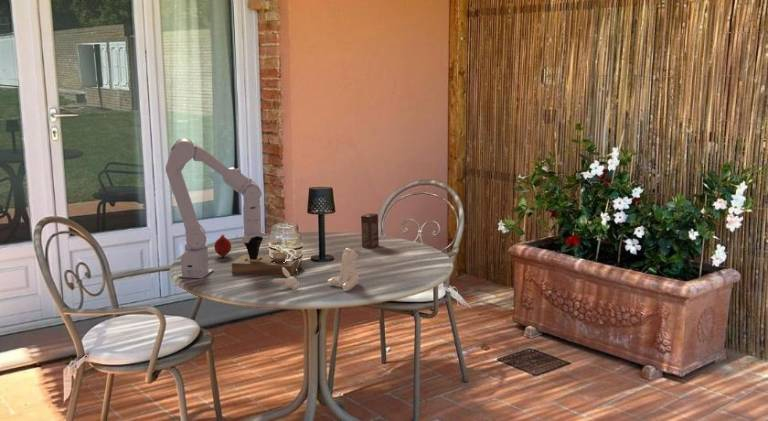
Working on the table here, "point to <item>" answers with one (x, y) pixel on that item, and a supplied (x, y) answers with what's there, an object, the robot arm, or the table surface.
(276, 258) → the peg
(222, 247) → the onion
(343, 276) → the white creature statuette
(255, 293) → the table surface
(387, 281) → the table surface
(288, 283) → the rabbit figurine
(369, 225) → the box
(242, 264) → the walnut block
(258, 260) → the peg
